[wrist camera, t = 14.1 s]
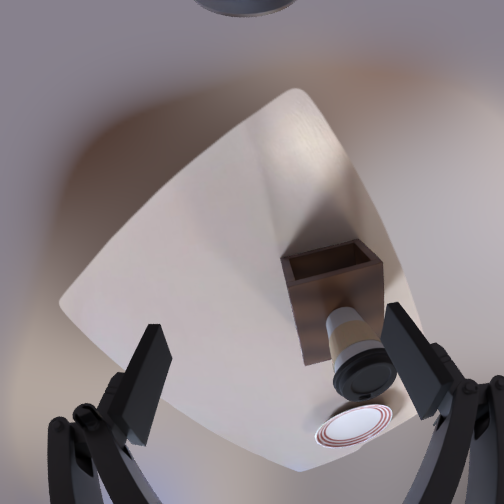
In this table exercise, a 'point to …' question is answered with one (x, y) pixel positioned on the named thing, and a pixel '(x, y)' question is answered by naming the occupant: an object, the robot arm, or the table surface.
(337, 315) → the coffee cup
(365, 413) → the dinner plate
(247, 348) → the table surface
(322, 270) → the wooden cubby box
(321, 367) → the table surface
